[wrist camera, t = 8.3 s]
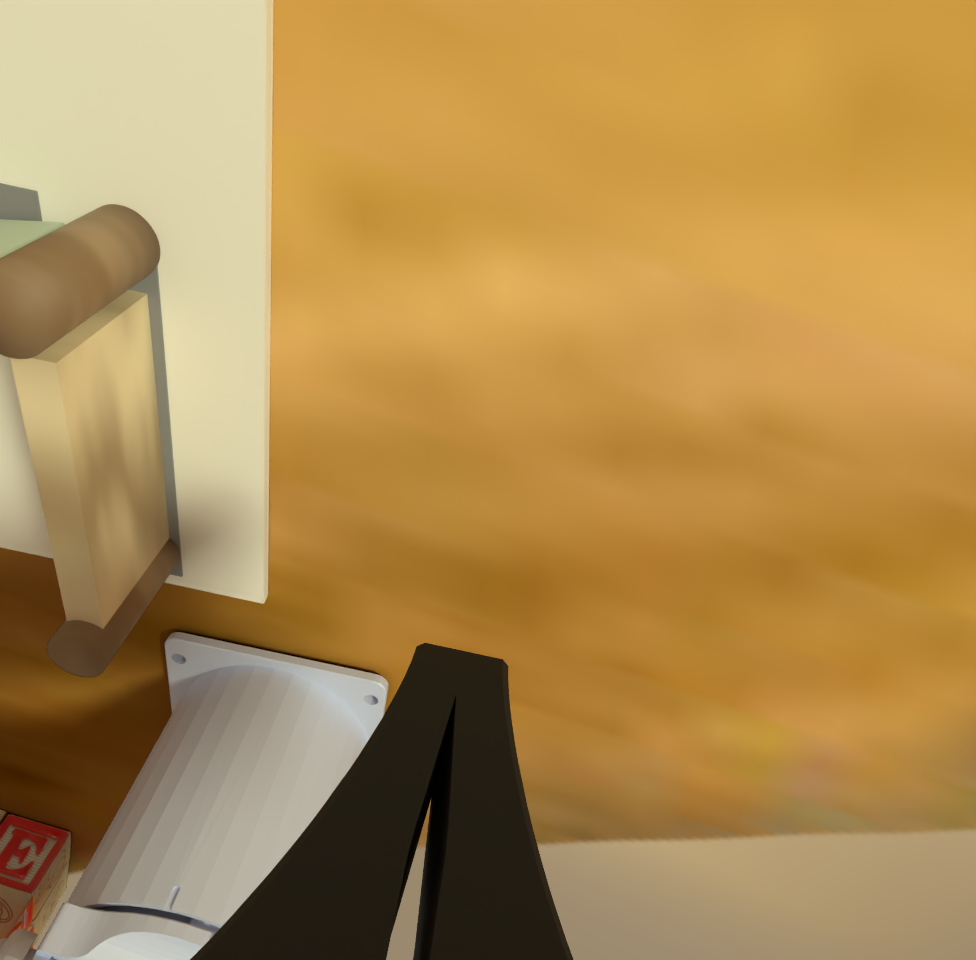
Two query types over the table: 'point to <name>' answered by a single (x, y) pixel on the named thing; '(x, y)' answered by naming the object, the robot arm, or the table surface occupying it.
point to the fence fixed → (91, 422)
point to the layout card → (181, 234)
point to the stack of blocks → (30, 873)
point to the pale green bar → (22, 233)
